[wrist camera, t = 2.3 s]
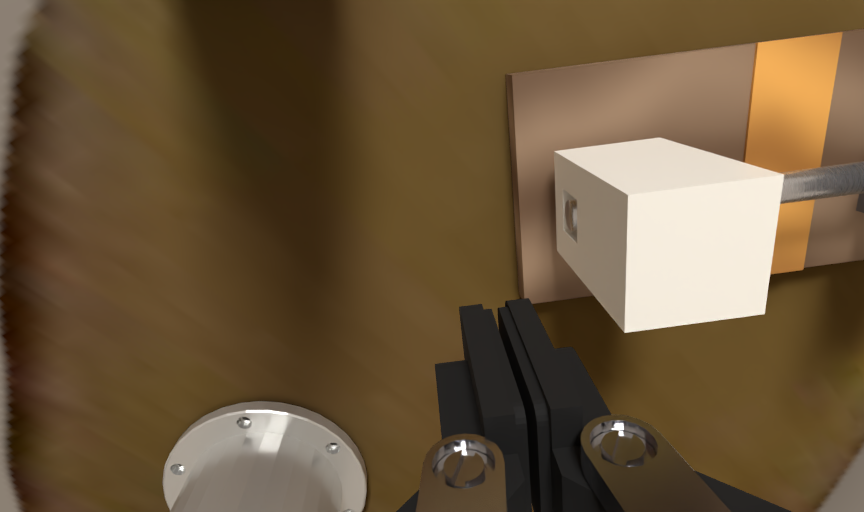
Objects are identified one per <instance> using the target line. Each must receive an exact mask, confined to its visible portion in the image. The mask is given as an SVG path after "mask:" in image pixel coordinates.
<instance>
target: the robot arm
mask: <svg viewBox="0 0 864 512" xmlns="http://www.w3.org/2000/svg"><path fill="white" fill-rule="evenodd" d="M459 311H460V321H461V330H462V339H463V348H464V358H465V360H463V361H455V362H447V363H439V364H435V371H436V381H437V392H438V402H439V413H440V423H441V434H442V440H440V441H439V442H438V443H436V444H435V445H433V446H432V448H431V449H430V450H429V451H428V452H427V454H426V457H425V459H424V462H423V468H422V474H421V481H420V488H419V490H418V491H417V492H416V493H415V494H414V495H413V496H412V497H411V498H410V499H409V500H408V501H407V502H406V503H405V504H404V505H403V506H402V507H401V508H400V509H399V510H398V511H396V512H532V506H533V510H534V512H791V511H789V510H787V509H784V508H782V507H779V506H777V505H775V504H772V503H770V502H768V501H765V500H763V499H761V498H758V497H756V496H753V495H751V494H749V493H746V492H744V491H742V490H739V489H737V488H735V487H732V486H730V485H727V484H725V483H723V482H720V481H718V480H716V479H713V478H711V477H708V476H706V475H704V474H701V473H699V472H697V471H694V470H693V469H692V468H691V467H690V465H689V464H688V463H687V462H686V461H685V460H684V459H683V458H682V457H681V456H680V454H679V453H678V452H677V451H676V450H675V449H674V448H673V447H672V446H671V444H670V443H669V442H668V441H667V440H666V439H665V438H664V437H663V436H662V434H661V433H660V432H658V431H657V430H656V429H655V428H654V427H653V426H651V425H650V424H648V423H646V422H644V421H642V420H640V419H637V418H633V417H630V416H625V415H611V413H610V411H609V410H608V408H607V406H606V404H605V402H604V401H603V399H602V397H601V395H600V394H599V392H598V390H597V388H596V387H595V385H594V383H593V381H592V380H591V378H590V376H589V374H588V372H587V371H586V369H585V367H584V365H583V364H582V362H581V360H580V358H579V357H578V355H577V353H576V351H575V350H574V349H573V348H572V347H565V348H557V349H554V347H553V345H552V343H551V341H550V339H549V337H548V335H547V333H546V331H545V329H544V327H543V325H542V323H541V321H540V319H539V317H538V315H537V313H536V311H535V309H534V307H533V305H532V303H531V301H530V299H529V298H525V299H517V300H509V301H506V302H505V307H501V308H498V323H499V330H498V327H497V324H496V321H495V318H494V315H493V312H492V309H486V310H483V306H482V304H478V305H470V306H462V307H459ZM163 490H164V496H165V500H166V502H167V505H168V507H169V509H170V512H362V511H363V508H364V506H365V499H366V493H367V472H366V468H365V463H364V460H363V458H362V456H361V454H360V452H359V450H358V448H357V446H356V445H355V444H354V442H353V441H352V440H351V439H350V437H349V436H348V435H347V434H346V433H345V432H344V431H343V430H341V429H340V428H339V427H338V426H337V425H336V424H335V423H333V422H331V421H330V420H328V419H326V418H325V417H323V416H321V415H320V414H318V413H315V412H313V411H310V410H307V409H305V408H302V407H299V406H295V405H290V404H286V403H281V402H266V401H256V402H246V403H238V404H235V405H231V406H227V407H223V408H220V409H218V410H216V411H214V412H211V413H209V414H207V415H205V416H203V417H202V418H201V419H199V420H198V421H196V422H195V423H194V424H192V425H191V426H190V427H189V428H188V429H187V430H186V431H185V432H184V433H183V435H182V436H181V437H180V438H179V439H178V441H177V443H176V445H175V446H174V448H173V450H172V451H171V453H170V455H169V457H168V459H167V462H166V464H165V467H164V474H163ZM531 503H532V506H531Z"/></svg>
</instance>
